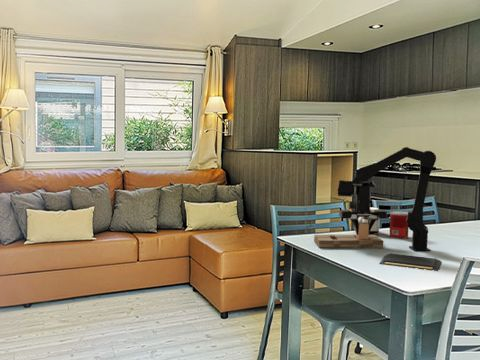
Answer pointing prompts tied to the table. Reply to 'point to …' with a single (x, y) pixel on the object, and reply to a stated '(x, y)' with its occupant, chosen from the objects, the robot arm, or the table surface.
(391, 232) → the canned food
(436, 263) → the dark grey flat slab
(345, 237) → the bore block
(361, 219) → the spread jar
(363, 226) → the square peg
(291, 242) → the table surface
